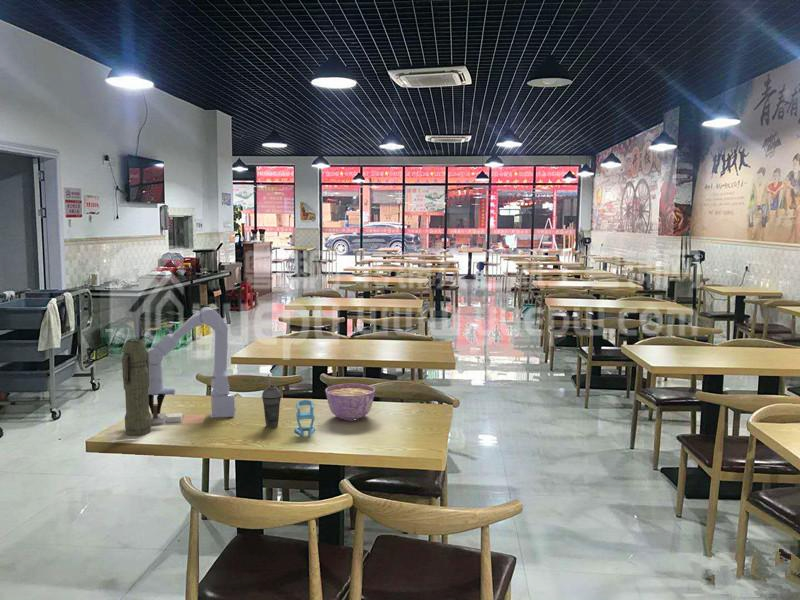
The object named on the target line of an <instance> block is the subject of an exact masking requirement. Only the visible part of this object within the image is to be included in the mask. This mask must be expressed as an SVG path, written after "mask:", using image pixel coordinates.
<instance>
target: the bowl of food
mask: <svg viewBox="0 0 800 600" xmlns="http://www.w3.org/2000/svg"><path fill="white" fill-rule="evenodd" d="M324 391H325V394H326V395H325V396H326V399H327V403H328V407H329V410H330V412H331V413H332V415H334V416H335V417H337V418H339V419H341V420H342V419H344V420H343V421H347V420H353V421H355V420H354V419H358V418H360V419H361V418H363V417H365V416H367V415H368V414H369V413H370V411H371V409H372V405H373V402H374V398H375V394H376V393H375V392H376V388H375V387H374V386H371V385H368V384H363V383H362V384H361V383H340V384H333V385H331V386H328V387H326V388H325V390H324ZM358 420H359V419H358Z"/></svg>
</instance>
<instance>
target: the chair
mask: <svg viewBox="0 0 800 600" xmlns="http://www.w3.org/2000/svg"><path fill="white" fill-rule="evenodd" d="M295 406H296V409H297V412H295V415H296V422H297V426H298V427H294V432H295V433H297V434H298V435H299V436H301V437H302V438H303V437H305V433H304V431H308V432H307V437H311V436H312V434H313V433H314V432H315V431H316V426H313V425H314V422H315V412H314V408H315V402H313V401H311V400H309V399H303V400H300V401H298V402H297V403H295ZM301 406H309V407H310V408H309V411H305V412H304V411H303V412H302V411H301V409H300V407H301ZM300 420H311V422H310V426H307V427H304V426H303V427H302V424H301V422H300Z"/></svg>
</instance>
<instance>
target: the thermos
mask: <svg viewBox="0 0 800 600" xmlns="http://www.w3.org/2000/svg"><path fill="white" fill-rule="evenodd" d="M121 365H122V367H121V368H122V380H123V381H122V382H123V383H122V384H123V389H124V392H125V393H124V396H125V415H124V428H125V429H124V430H125V435H126V436H129V437H140V436H145V435H148V434H150V433H151V432H152V430H151V427H152V426H151V414H152V413H151V411H150V407H149V397H148V388H149V358H148V352H147V345H146V343H145V341H144V339H141V338H132V339H131V338H130V339H127V340H126V341H125V343H124V346H123V355H122V359H121Z"/></svg>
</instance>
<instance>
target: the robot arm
mask: <svg viewBox="0 0 800 600" xmlns="http://www.w3.org/2000/svg"><path fill="white" fill-rule="evenodd" d="M203 324H204V325H206V326H207V327H210V328H211V329H212V330H213V331H214V357H213V359H214V360H213V361H214V363H213V371H212V378H211V379H210V387H211V388H212V389H213V390H212V391H211V392H210V403H211V405H210V407H211V408H210V409H211V411H210V415H209V418H224V417H225V418H234V417H235V416H236V415H235V414H236V410H237V409H236V402H235V401H236V396H235V393H234V392H230V388H231V385H230V383H229V380H228V378H229V377H228V373H227V371H228V370H227V367H228V366H227V363H228V362H227V361H228V360H227V359H228V358H227V357H228V329H229V328H228V325H227V324H226V322H225V321H224V319H223V318H222V316H221V315H220V314H219V313H218V312H217V311H216V310H214V309H213V308H212V307H209V306H204V307H202V308H200V310H199V311H196V312H195V313H194V314H193V315H192V316H190V317H188V319H187V320H186V321H185V322H183V323H182V325H180V326H179V327H178V328H177V329H176V331H174V332H173V333H167V334H166V335H165V334H164V335H162V336H161V339H160V340H159V341H158V342H157V343H154V344H152V345H151V347H150V348H149V349H146V351H147V352H148V358H149V388H148V397H149V410H150V414H153V405H154V404H155V403H154V401H155V400H154V398H155V396H156V400H157V401H156V402H157V403H156V404H158V414H160V413H161V411H162V405H163V402H164V399H165V397H166V396H168V395H169V396H170V395H171V396H173V395H174V396H175V394H176V388H164V385H163V383H164V382H163V379H164V378H163V366H162V361H163V358H164V357H166V356H167V355H168V354H170V352H172V351H173V350H174V349H175V348H176V347H177V346H179V340H180V339H181V338H183V337H184V336H185V335H187V334H188V333H189V332H190V331H192V330H193V329H194V328H196V327H198V328H199V327H203Z"/></svg>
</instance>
